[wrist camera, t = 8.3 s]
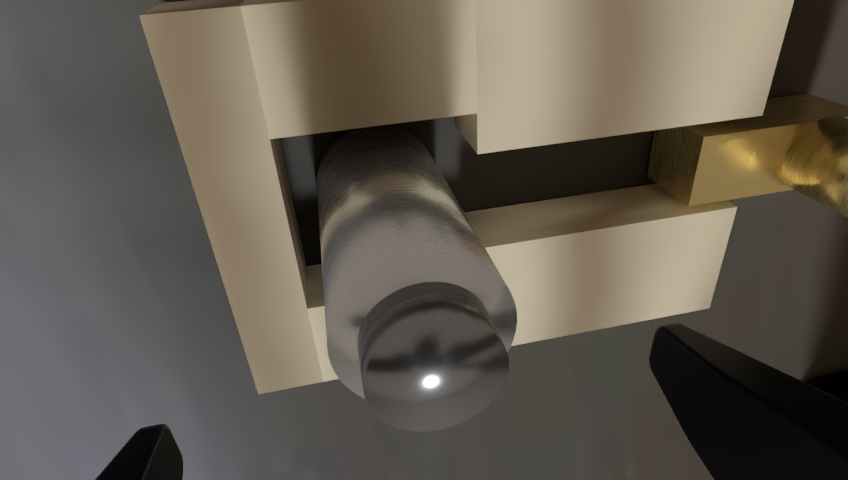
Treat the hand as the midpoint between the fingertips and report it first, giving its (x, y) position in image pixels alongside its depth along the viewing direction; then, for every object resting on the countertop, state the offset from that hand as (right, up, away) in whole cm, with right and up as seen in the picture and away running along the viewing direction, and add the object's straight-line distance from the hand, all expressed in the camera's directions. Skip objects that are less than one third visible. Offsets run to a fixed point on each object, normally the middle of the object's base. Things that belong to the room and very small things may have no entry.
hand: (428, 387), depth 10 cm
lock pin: (+11, +7, +10) cm, 16 cm away
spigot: (-2, +5, +8) cm, 10 cm away
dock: (+2, +5, +9) cm, 10 cm away
